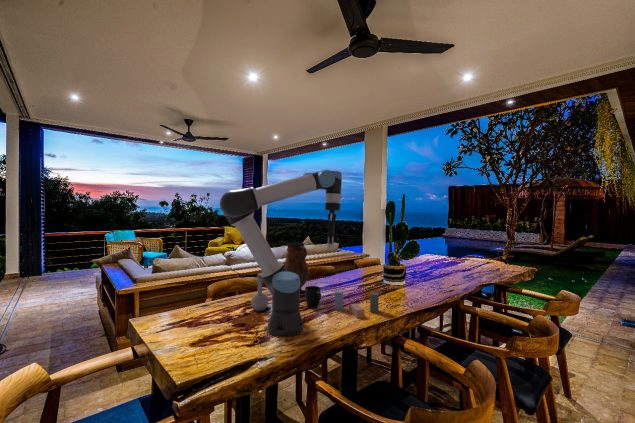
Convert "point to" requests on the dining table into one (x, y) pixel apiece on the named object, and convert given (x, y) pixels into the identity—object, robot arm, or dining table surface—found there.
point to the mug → (312, 295)
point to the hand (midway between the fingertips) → (330, 249)
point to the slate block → (338, 300)
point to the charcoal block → (374, 302)
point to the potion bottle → (259, 297)
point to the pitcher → (297, 262)
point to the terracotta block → (356, 310)
